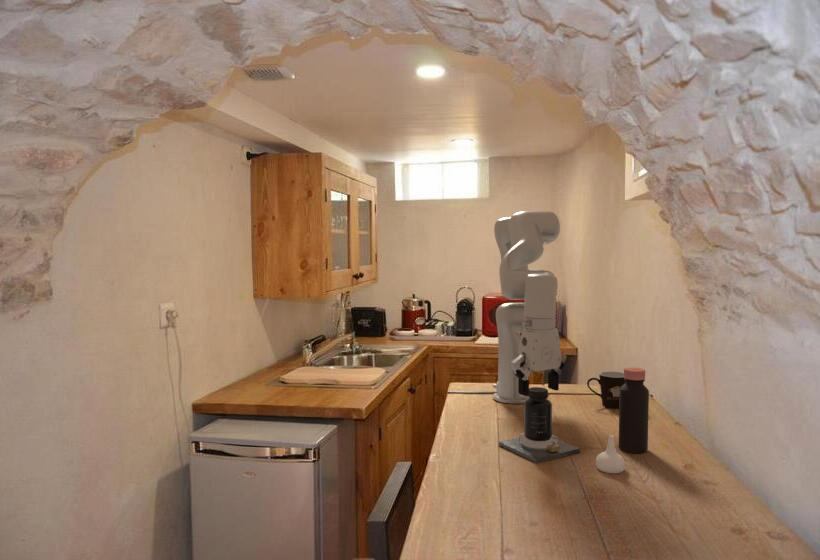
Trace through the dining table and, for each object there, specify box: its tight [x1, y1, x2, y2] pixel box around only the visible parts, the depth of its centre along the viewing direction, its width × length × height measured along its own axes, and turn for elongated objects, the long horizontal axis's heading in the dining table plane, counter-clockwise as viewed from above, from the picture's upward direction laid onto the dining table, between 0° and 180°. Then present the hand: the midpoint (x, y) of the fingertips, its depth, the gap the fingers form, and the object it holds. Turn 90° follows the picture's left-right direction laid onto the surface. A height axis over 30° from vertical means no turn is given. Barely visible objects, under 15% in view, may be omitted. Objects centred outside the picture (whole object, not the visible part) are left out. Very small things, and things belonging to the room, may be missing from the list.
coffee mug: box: [586, 371, 625, 410], centre depth 187 cm, size 12×9×10 cm
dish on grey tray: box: [498, 432, 581, 464], centre depth 148 cm, size 14×14×3 cm
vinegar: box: [618, 367, 650, 454], centre depth 147 cm, size 7×7×20 cm
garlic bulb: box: [595, 434, 626, 474], centre depth 135 cm, size 6×6×8 cm
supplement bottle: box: [523, 386, 553, 441], centre depth 148 cm, size 7×7×12 cm
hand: (538, 391), depth 148 cm, fingers open, 9 cm apart
